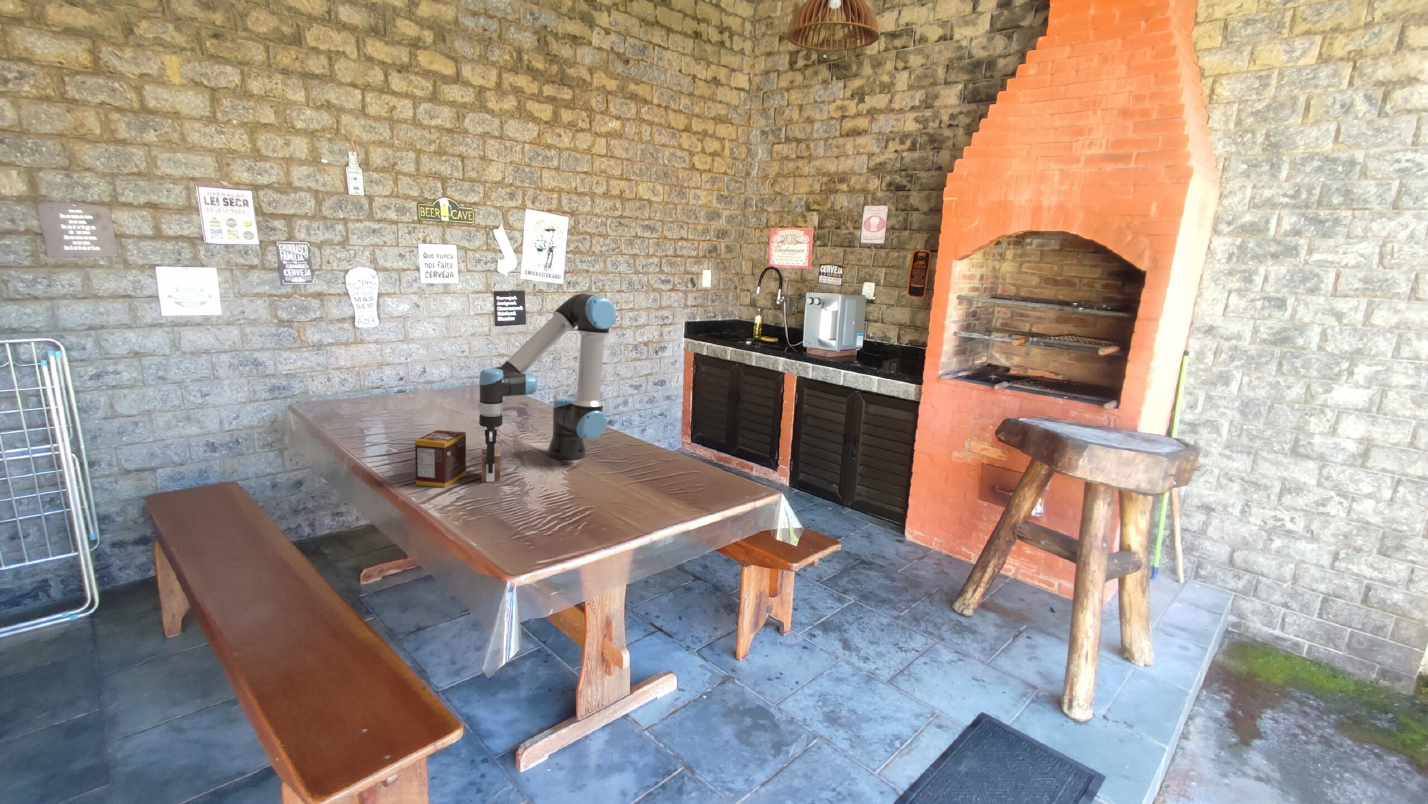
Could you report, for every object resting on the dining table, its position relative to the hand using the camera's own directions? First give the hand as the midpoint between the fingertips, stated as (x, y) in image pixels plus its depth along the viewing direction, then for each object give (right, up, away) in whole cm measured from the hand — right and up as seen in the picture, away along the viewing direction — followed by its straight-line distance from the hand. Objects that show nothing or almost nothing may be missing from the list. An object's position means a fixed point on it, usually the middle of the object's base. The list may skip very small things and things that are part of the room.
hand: (490, 477), depth 229 cm
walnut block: (0, 0, 0) cm, 0 cm away
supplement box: (-15, 0, -4) cm, 16 cm away
